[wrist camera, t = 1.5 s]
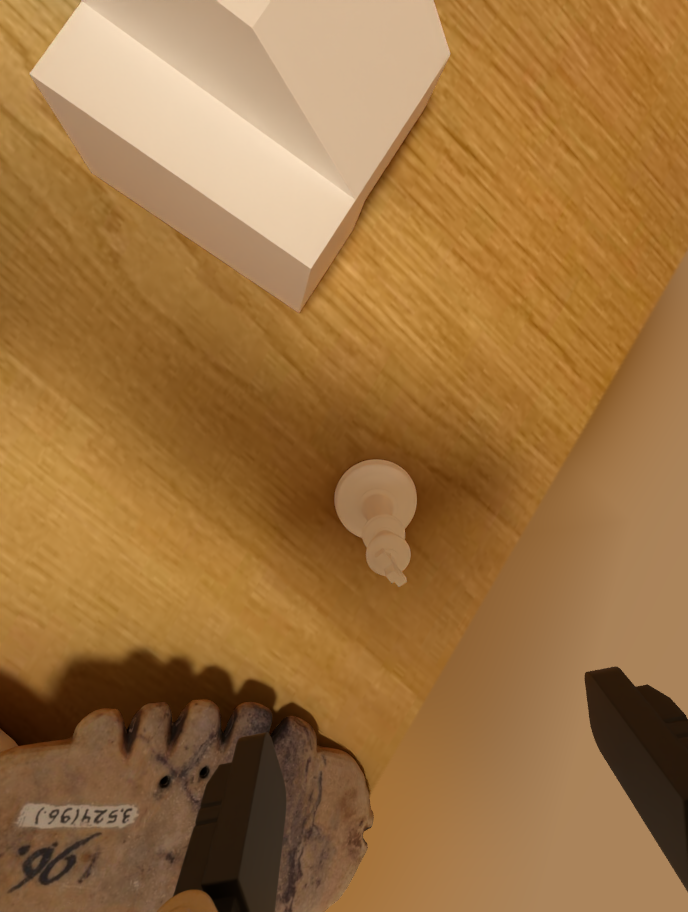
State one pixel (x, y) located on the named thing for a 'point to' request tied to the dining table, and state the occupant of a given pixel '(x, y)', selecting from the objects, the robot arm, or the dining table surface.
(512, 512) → the dining table surface
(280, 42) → the white cardboard box
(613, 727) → the robot arm
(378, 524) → the chess piece
